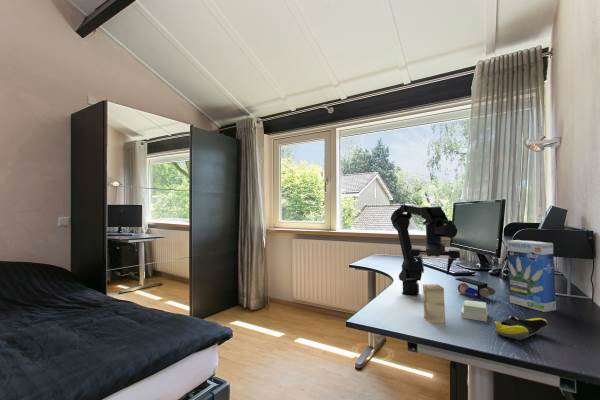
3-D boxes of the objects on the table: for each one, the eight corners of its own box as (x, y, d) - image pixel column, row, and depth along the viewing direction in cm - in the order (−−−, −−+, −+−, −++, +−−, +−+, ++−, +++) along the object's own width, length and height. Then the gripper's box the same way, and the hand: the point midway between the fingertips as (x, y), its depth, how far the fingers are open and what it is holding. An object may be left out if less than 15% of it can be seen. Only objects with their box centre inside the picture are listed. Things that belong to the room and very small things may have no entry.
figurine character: (496, 303, 126) (463, 290, 140) (497, 285, 125) (464, 275, 139) (486, 305, 123) (453, 293, 137) (487, 288, 123) (454, 277, 136)
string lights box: (509, 302, 122) (505, 240, 123) (521, 300, 124) (517, 239, 125) (545, 312, 109) (541, 243, 110) (557, 309, 112) (553, 242, 113)
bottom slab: (461, 319, 107) (460, 312, 107) (463, 312, 113) (462, 305, 113) (487, 323, 102) (486, 315, 102) (487, 315, 109) (487, 309, 109)
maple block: (424, 316, 108) (422, 284, 109) (439, 317, 108) (438, 284, 108) (429, 322, 103) (427, 288, 103) (445, 322, 102) (443, 288, 103)
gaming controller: (551, 337, 89) (515, 326, 98) (550, 318, 89) (514, 309, 98) (525, 348, 82) (489, 335, 91) (524, 329, 83) (488, 318, 91)
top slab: (463, 312, 107) (463, 305, 107) (464, 306, 113) (464, 300, 113) (486, 315, 103) (486, 308, 103) (486, 309, 109) (485, 302, 109)
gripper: (407, 237, 119) (408, 276, 118) (459, 238, 110) (461, 280, 110) (410, 235, 129) (412, 270, 128) (459, 235, 120) (460, 274, 119)
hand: (435, 273), depth 121 cm, fingers open, 9 cm apart
